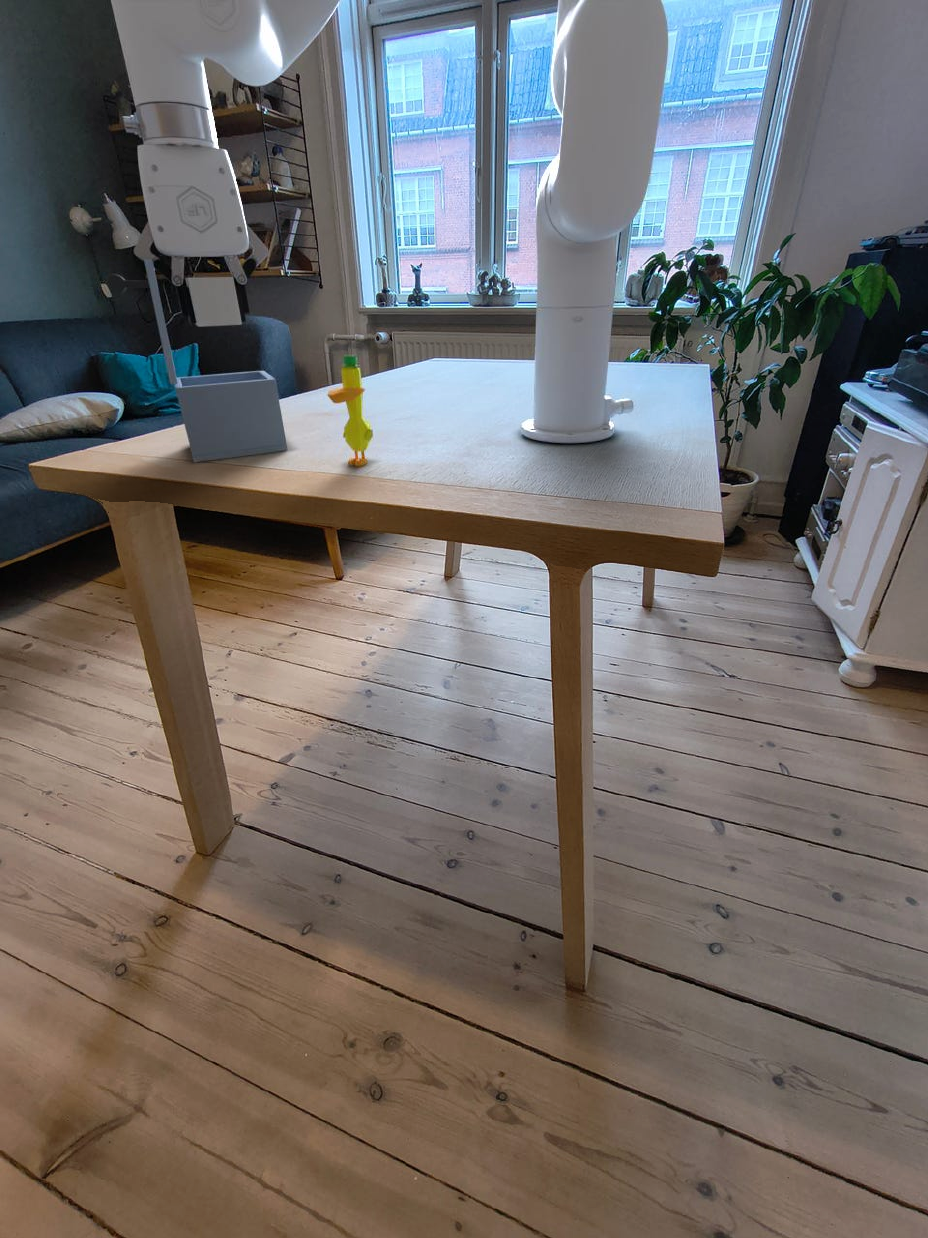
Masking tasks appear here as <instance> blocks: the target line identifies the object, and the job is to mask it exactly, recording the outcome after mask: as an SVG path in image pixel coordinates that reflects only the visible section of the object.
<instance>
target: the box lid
mask: <svg viewBox="0 0 928 1238" xmlns="http://www.w3.org/2000/svg"><path fill="white" fill-rule="evenodd" d="M143 262H144V266H145V270H146V275H147V276H146V277H147V280H137V279H125V278H124V277H123V276H121V275H119V274H117V273H116V274H115V273H112V274H109V275H108V276H107V277H106V285H107V287H108V289H109V290H110V291H111V292H113V293H116V294H121V293H124V292H125V291H126V290H127V289H128V288H133V289H134V288H135V289H137V288H140V289H141V288H142V289H144V288H145V289H150V290H149V291H150V295H151V299H152V303H153V309H154V313H155V318H156V323H157V327H158V332H159V333H158V334H159V337H160V342H161V346H162V351H163V352H162V353H163V356H164V362H165V364H166V365H165V366H166V370H167V374H168V379H169V384H170V385H174V384H177V378H178V377H177V374H176V368H175V363H174V359H173V354H172V350H171V344H170V339H169V335H168V329H167V325H166V319H165V314H164V311H163V305H162V301H161V296H160V295H161V294H160V291H159V290H160V289H159V285H158V280H157V276H156V270H155V269H154V266H153V261H152V260H144V261H143Z"/></svg>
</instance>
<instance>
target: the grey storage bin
mask: <svg viewBox="0 0 928 1238" xmlns="http://www.w3.org/2000/svg"><path fill="white" fill-rule="evenodd" d="M176 378H177V384H173V386H174V389H175V393H176V397H177V401H178V404H179V405H178V406H179V409H180V412H181V416H182V420H183V424H184V428H185V432H186V436H187V440H188V444H189V447H190V451H191V452H190V453H191V456H192V460H193V462H194V463H199V462H208V461H217V460H222V459H229V458H238V457H239V458H240V457H245V456H246V457H247V456H253V455H263V454H269V453H270V454H271V453H277V452H286V451H288V444H287V438H286V432H285V427H284V426H285V425H284V421H283V415H282V409H281V404H280V398H279V392H278V386H277V380H276V378H274V377H273V376H272V375H270V374H269V373H267V372H266V371H265V370H254V371H252V370H251V371H241V372H231V373H230V372H229V373H217V374H216V373H215V374H203V375H193V376H192V375H191V376H181V377H180V376H179V377H176Z"/></svg>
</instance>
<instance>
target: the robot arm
mask: <svg viewBox="0 0 928 1238" xmlns="http://www.w3.org/2000/svg"><path fill="white" fill-rule="evenodd" d="M341 1H342V0H110V2H111V7H112V11H113V16H114V21H115V24H116V29H117V33H118V38H119V42H120V46H121V50H122V55H123V59H124V63H125V68H126V72H127V77H128V81H129V86H130V89H131V93H132V98H133V102H134V106H135V110H136V111H135V112H133V114H130V116H126V115H125V116H124V115H123V116H122V119H123V124H124V128H125V133H126V134H133V135H135V136H138V137H139V139H142V143H143V144H139V145H137V161H138V170H139V171H138V172H139V178H140V184H141V190H142V193H143V194H142V195H143V200H144V206H145V211H146V215H147V219H148V220H147V222H146V224H145V226H144V228H143V230H142V232H141V234H140V236H139V238H138V240H137V242H136V243H135V246H134V248H133V253H134V255H135V256H136V257H137V258H138V259H140V260H141V261H142V262H144V260H152V261H153V266H154V270H155V271H157V272H158V273H159V274H161V276H163V277H164V278H165V279H166V280H167V281H169V282H170V283H171V284H173V285H174V287H175V291H176V295H177V299H178V304H179V309H180V313H181V317H182V318H186V317H188V318H187V319H188V322H189V324H190V325H196V324H195V323H197V322H196V317H195V313H194V308H193V304H192V299H191V295H190V290H189V287H187V284H186V279H185V278H184V272H185V258H187V257H188V258H194V257H195V258H196V257H197V258H198V257H199V258H200V257H201V258H203V257H206V258H207V257H208V258H209V257H211V258H212V257H223V259H224V262H225V263H226V265H227V267H228V270H229V272H230V274H231V277H233V279H234V285H235V290H236V295H237V301H238V306H239V311H240V317H241V322H242V323H246V322H247V318H246V315H250V306H249V300H248V295H247V290H246V284H247V281H248V280H249V279H250V277H251V276H252V274H253V273H254V271H255V270H256V269H257V267H259V265H260V264H261V263H262V262H263V261H264V260H265V258H267V257H268V255H269V252H270V250H269V249H268V247H267V246H266V245H265V243H263V241H262V240H261V239H260V238H259V237H258V235H257V234H256V233H255V232H254V231H253V230H252V229H251V227H250V226H249V225H248V224H247V223H246V218H245V214H244V208H243V204H242V199H241V196H240V192H239V187H238V184H237V181H236V175H235V172H234V169H233V166H232V162H231V159H230V157H229V154H228V150H226V149H224V148H220V147H219V143H218V138H217V131H216V126H215V120H214V115H213V109H212V103H211V98H210V92H209V86H208V81H207V75H206V70H205V65H204V60H205V59H208V60H211V61H213V62H214V63H216V64H219V65H220V66H222V67H223V68H224V69H225V71H227V72H228V74H229V75H231V76H232V77H233V78H234V79H236V80H237V81H238V82H240V83H242V84H244V85H247V86H250V87H261V86H266V85H268V84H270V83H272V82H274V81H275V80H277V79H278V78H279V77H280V76H281V75H282V74H284V73H285V72H286V70H288V69H289V67H290V66H291V65H292V64H293V63H294V62H295V61H296V60H297V59H298V58H299V57H300V55H302V53H303V52H304V51H305V50H306V49H307V48H308V47H309V46H310V45H311V44H312V42H313V41H314V40H315V39H316V38H317V37H318V35H320V33H321V31H322V30H323V29H324V27H325V26H326V24H327V23H328V22H329V20H330V19H331V17H332V16H333V14H334V12H335V11H336V9H337V8H338V6H339V4H340V3H341ZM556 12H557V13H556V24H555V36H554V44H553V45H554V46H553V54H552V62H551V71H550V78H551V79H550V86H551V93H552V99H553V102H554V105H555V108H556V110H557V112H558V114H559V115H560V117H561V130H560V141H559V142H560V143H559V152H558V154H557V155H556V157H555V158H554V159H553V160H552V161H551V163H549V165H548V167H547V168H546V170H545V171H544V173H543V176H542V178H541V181H540V184H539V187H538V191H537V196H536V197H537V198H536V203H535V204H536V205H535V233H536V234H535V236H536V260H537V263H536V264H537V267H536V268H537V269H536V271H537V272H536V273H537V275H536V310H535V341H534V342H535V343H534V344H535V346H534V371H533V372H534V373H533V374H534V376H533V405H532V406H533V407H532V409H533V411H532V418H531V419H528V420H526V421H524V422H523V423H522V424H521V432H520V433H521V435H523V436H524V437H525V438H528V439H530V440H534V441H538V442H544V443H553V444H583V443H584V444H585V443H593V442H598V441H603V440H606V439H609V438H610V437H612V436H613V435H614V433H615V425H614V423H613V422H611V419H612V418H614V417H615V415H619V416H620V415H627V414H632V412H633V410H634V401H633V400H632V399H631V398H624V399H618V400H614V399H613V398H612V397H610V396H607V395H606V394H607V385H608V384H607V382H608V373H609V360H610V349H611V337H612V336H611V335H612V327H613V323H612V322H613V313H614V305H615V296H616V295H615V294H616V283H617V281H616V280H617V248H616V247H617V245H616V243H617V242H616V236H617V235H618V234H619V233H621V232H623V231H624V230H625V229H626V228H627V227H628V226H629V225H630V224H631V223H632V221H633V220H634V219H635V218H636V216H637V214H638V213H639V211H640V209H641V207H642V205H643V203H644V200H645V197H646V194H647V191H648V187H649V182H650V178H651V174H652V167H653V162H654V155H655V150H656V149H655V148H656V143H657V142H656V141H657V134H658V129H659V123H660V115H661V107H662V101H663V94H664V88H665V87H664V86H665V82H666V81H665V79H666V73H667V65H668V56H669V55H668V54H669V29H668V27H669V26H668V20H667V15H666V10H665V7H664V4H663V1H662V0H558V1H557V11H556ZM153 244H154V246H155V247H156V249H157V251H158V252H159V253H160V254H163V255H165V256H168V257H171V267H170V266H169V265H168V264H167V263H166V262H165V261H164V260H162V259H160V258H159V257H158V256H157V255H156V254H153V252H152V251H151V246H152V245H153ZM249 247H250V248H251V250H252V252H251V253H250V254H249V256H248V257H247V258H246V259H245V260H244V261H243V263H242V264H241V262H240V259H239V256H238V255H242V254H244V253H246V252H247V251H248V250H249Z"/></svg>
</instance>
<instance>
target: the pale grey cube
mask: <svg viewBox="0 0 928 1238" xmlns="http://www.w3.org/2000/svg"><path fill="white" fill-rule="evenodd" d="M185 280H186V284H187V287H189V290H190V295H191V299H192V304H193V308H194V313H195V317H196V322H197V323H195V324H194V325H196V326H197V327H202V328H203V327H220V326H221V327H222V326H239V325H242V323H243V322H241V317H240V311H239V306H238V301H237V295H236V290H235V285H234V279H233V277H232V276H214V277H213V276H210V277H209V276H208V277H185Z"/></svg>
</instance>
